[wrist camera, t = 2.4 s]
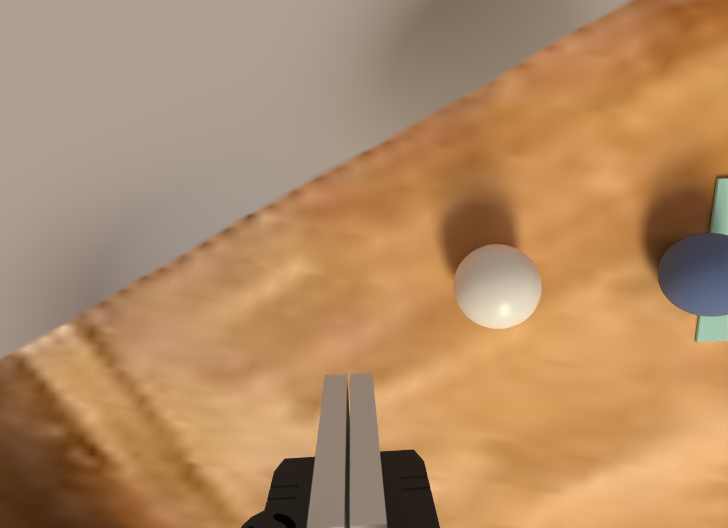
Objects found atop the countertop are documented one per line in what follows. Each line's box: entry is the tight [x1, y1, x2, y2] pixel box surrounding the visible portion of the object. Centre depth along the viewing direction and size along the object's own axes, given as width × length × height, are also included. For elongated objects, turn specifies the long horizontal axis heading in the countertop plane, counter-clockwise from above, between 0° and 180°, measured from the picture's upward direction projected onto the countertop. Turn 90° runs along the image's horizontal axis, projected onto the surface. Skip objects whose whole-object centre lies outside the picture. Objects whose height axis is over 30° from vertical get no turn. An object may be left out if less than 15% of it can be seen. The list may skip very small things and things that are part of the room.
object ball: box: [658, 233, 728, 317], centre depth 29 cm, size 6×6×6 cm
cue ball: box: [453, 244, 542, 329], centre depth 29 cm, size 6×6×6 cm
